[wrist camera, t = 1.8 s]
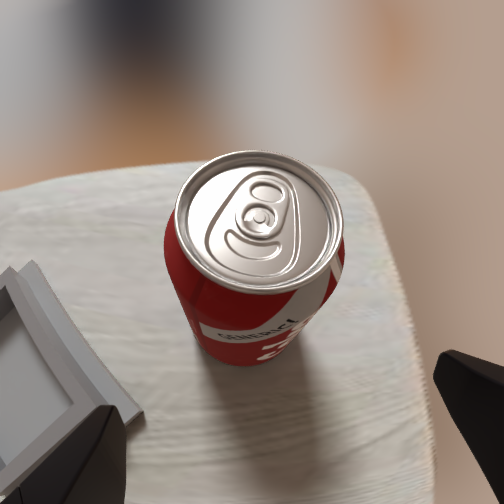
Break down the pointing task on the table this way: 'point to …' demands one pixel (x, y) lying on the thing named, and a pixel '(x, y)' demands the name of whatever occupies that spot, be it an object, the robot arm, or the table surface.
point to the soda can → (253, 252)
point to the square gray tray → (44, 376)
